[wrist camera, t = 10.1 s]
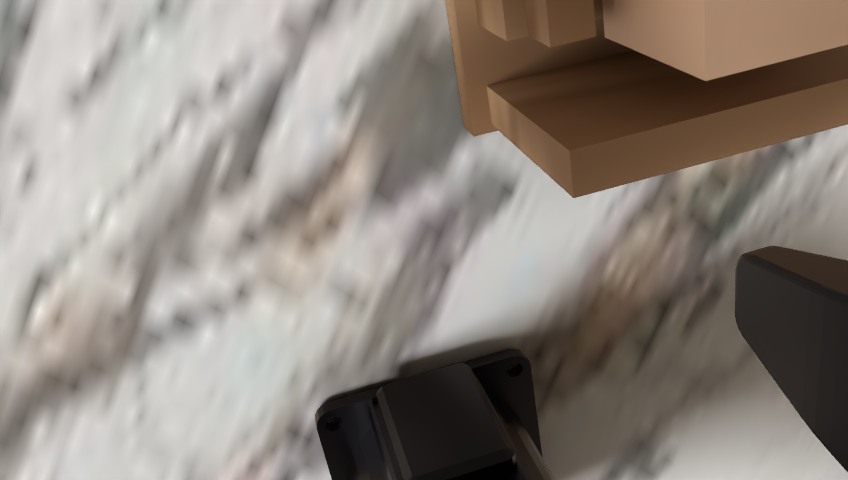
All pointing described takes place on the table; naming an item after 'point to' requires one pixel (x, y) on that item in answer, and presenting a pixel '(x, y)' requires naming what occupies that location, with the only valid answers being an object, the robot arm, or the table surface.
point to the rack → (622, 95)
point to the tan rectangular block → (725, 31)
